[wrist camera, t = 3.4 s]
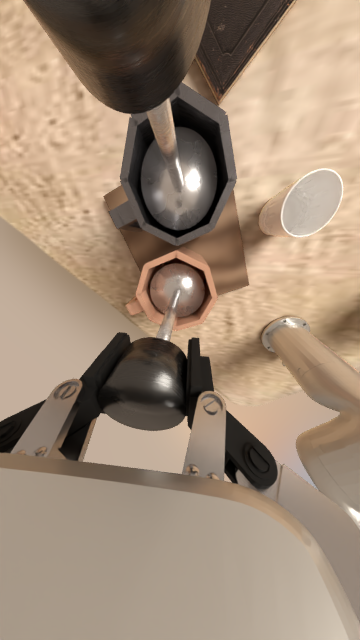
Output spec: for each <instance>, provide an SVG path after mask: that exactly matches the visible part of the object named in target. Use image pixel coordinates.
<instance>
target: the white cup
mask: <svg viewBox="0 0 360 640" xmlns="http://www.w3.org/2000/svg"><path fill="white" fill-rule="evenodd" d="M342 196H343V183H342V180H341V177H340V176H339V174H338V173H337V172H335V171H334V170H331V169H327V168H322V169H317V170H314V171H311V172H309V173H307V174H306V175H304V176H303V177H301V178H300V179H298V180H297V181H295V182H294V183H292V184H291V185H289V186H288V187H286V188H285V189H284V190H282V191H281V192H279V193H278V194H277V195H276V196H274V197H273V198H271V199H270V200H269V201H268V202H267V203H266V204H265V205H264V206H263V208H262V210H261V213H260V215H259V226H260V229H261V231H262V232H263V233H265V234H266V235H273V236H279V237H298V238H300V237H306V236H310V235H312V234H314V233H316V232H318V231H319V230H321V229H322V228H323V227H324V226H325V225H326V224H327V223H328V222H329V221H330V220H331V219H332V218H333V216H334V215H335V213H336V212H337V210H338V208H339V206H340V203H341V200H342Z"/></svg>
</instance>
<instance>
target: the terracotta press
mask: <svg viewBox="0 0 360 640" xmlns="http://www.w3.org/2000/svg"><path fill="white" fill-rule="evenodd" d="M173 263H182V264H185V265H188V266H190V267H192V268H193V269H194V270H196V271H197V272H198V274H199V275H200V277H201V278H202V281H203V284H204V289H205V294H204V299H203V302H202V304H201V305H200V307H199V308H198V309H197V310H196V311H195V312H193V313H192V314H190V315H188V316H184V317H175V321H174V325H173V329H172V330H174V331H175V330H176V331H178V330H181V329H185V328H188V327H192V326H195V325H199V324H202V323H203V322H204V320H205V319H206V317H207V315H208V314H209V312H210V311H211V309H212V307H213V306H214V304H215V302H216V301H217V298H218V296H217V293H216V289H215V286H214V282H213V278H212V275H211V271H210V268H209V266H208V264H207V263H206V261H205V259H204V258H203V256H201V255H199V254H197V253H195V252H194V251H192V250H189V249H187V248H185V247H180V248H178V249H176V250H173V251H171V252H169V253H167V254H164V255H162V256H160V257H158V258H156V259H154V260H152V261H150V262H148V263H146V264H145V265H144V266H143V270H142V273H141V277H140V280H139V283H138V287H137V290H136V296H135V297H134V298H133V299H132V300H131V301H130V302H129V303H128V304H127V305H126V308H127V309H128V311H129V312H130V314H131V315H134V314H137V313H140V312H143V311H145V313H146V315H147V317H148V319H149V320H150V319H151V320H150V321H152V322H155V323H157V324H160V325H161V323H162V321H163V318H164V315H165V314H164V313H163V312H161V311H160V310H159V309H158V308H157V307H156V306H155V304H154V303H153V301H152V298H151V295H150V285H151V281H152V279H153V277H154V275H155V274H156V273H157V272H158V271H159V270H160V269H161V268H162V267H164V266H166V265H169V264H173Z"/></svg>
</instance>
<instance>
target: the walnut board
mask: <svg viewBox="0 0 360 640" xmlns="http://www.w3.org/2000/svg"><path fill="white" fill-rule="evenodd" d="M103 197H104V199H105V201H106V203H107V205H108V207H109V209H110V211H111V210H112V209H114V208H116V207H118V206H119V205H121V204H123V203H124V202H126V201H128V198H127V196H126V193H125V191H124V189H123V187H122V185H121V186H119V187H118V188H116V189H114V190H113V191H111V192H110V193H108V194H106V195H105V196H103ZM120 231H121V233H122V235H123V237H124V239H125V241H126V243H127V245H128V247H129V249H130V251H131V253H132V255H133V257H134V259H135V261H136V263H137V265H138V267H139V269H140V271H141V273H142V270H143V266H144V265H145V264H146V263H148V262H150V261H152V260H154V259H156V258H158V257H160V256H162V255H164V254H167V253H169V252H171V251H173V250H176V249H178V248H180V247H185V248H187V249H189V250H192V251H194V252H195V253H197V254H199V255H201V256H203V258H204V259H205V261H206V263H207V264H208V266H209V268H210V271H211V275H212V278H213V282H214V286H215V289H216V293H217V295H220V294H224V293H227V292H230V291H233V290H236V289H239V288H242V287H245V286H248V285H249V282H248V276H247V269H246V263H245V257H244V251H243V245H242V239H241V233H240V227H239V221H238V215H237V209H236V203H235V197H234V191H233V190H232V192H231V194H230V196H229V198H228V200H227V203H226V205H225V207H224V209H223V211H222V213H221V215H220V217H219V219H218V222H217V224H216V226H215V228H214V229H213V230H212V231H211V232H209V233H207V234H205V235H203V236H200V237H198V238H196V239H194V240H191V241H189V242H187V243H184V244H182V245H179V246H175V245H173V244H171V243H169V242H167V241H165V240H163V239H161V238H159V237H157V236H155V235H153V234H151V233H149V232H147V231H145V230H144V231H142V232H133V231H127V230H121V229H120Z"/></svg>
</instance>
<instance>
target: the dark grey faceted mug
mask: <svg viewBox="0 0 360 640" xmlns="http://www.w3.org/2000/svg"><path fill="white" fill-rule="evenodd" d="M169 98H170V105H171V111H172V117H173V123H174V127H185V128H189V129H191V130H193V131H195V132H197V133H198V134H199V135H201V136H202V138H203V139H204V140H205V141H206V142H207V144H208V145H209V147H210V149H211V151H212V153H213V156H214V159H215V163H216V169H217V186H216V192H215V196H214V199H213V202H212V204H211V206H210V208H209V210H208V212H207V213H206V215H205V216H204V218H203V219H202V220H201V221H200V222H199V223H197V224H196V225H195V226H193V227H191V228H188V229H185V230H173V229H169V228H167V227H165V226H163V225H162V224H160V223H159V222H158V221H157V220H156V219H155V218H154V217H153V216H152V214H151V213H150V211H149V210H148V208H147V206H146V203H145V201H144V198H143V193H142V187H141V171H142V165H143V161H144V158H145V155H146V152H147V150H148V148H149V147H150V145H151V144H152V142H153V141H154V140H155V139H156V137H155V135H154V132H153V129H152V126H151V124H150V121H149V118H148V115H147V113H146V112H144V113H138V114H131V116H132V118H131V117H130V118H129V125H128V131H127V137H126V143H125V150H124V156H123V162H122V168H121V175H120V179H121V181H120V182H121V184H122V187H123V189H124V191H125V193H126V196H127V198H128V201H126V202H124V203H123V204H121V205H119V206H118V207H116V208H114V209H112V210H111V211H109V214H110V216H111V218H112V220H113V222H114V224H115V226H116V228H117V229H121V230H127V231H133V232H142V231H144V230H145V231H147V232H149V233H151V234H153V235H155V236H157V237H159V238H161V239H163V240H165V241H167V242H169V243H171V244H173V245H175V246H179V245H182V244H184V243H187V242H189V241H191V240H194V239H196V238H198V237H200V236H203V235H205V234H207V233H209V232H211V231H212V230H213V229H214V228H215V226H216V224H217V222H218V219H219V217H220V215H221V213H222V211H223V209H224V207H225V205H226V203H227V200H228V198H229V196H230V194H231V192H232V190H233V188H234V186H235V183H236V179H237V175H236V169H235V162H234V155H233V149H232V142H231V136H230V129H229V122H228V116H227V115H225V114H226V112H225V111H224V110H222V109H221V108H219V107H218V106H216V105H215V104H213V103H212V102H210V101H209V100H207V99H206V98H204V97H203V96H201V95H200V94H198V93H197V92H195V91H194V90H192V89H191V88H189V87H188V86H186V85H185V84H183V83H182V82H181V83H180V85H179V86H178V88H177V89H176V90H175V91H174V93H173V94H172V95H171V96H170V97H169Z"/></svg>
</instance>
